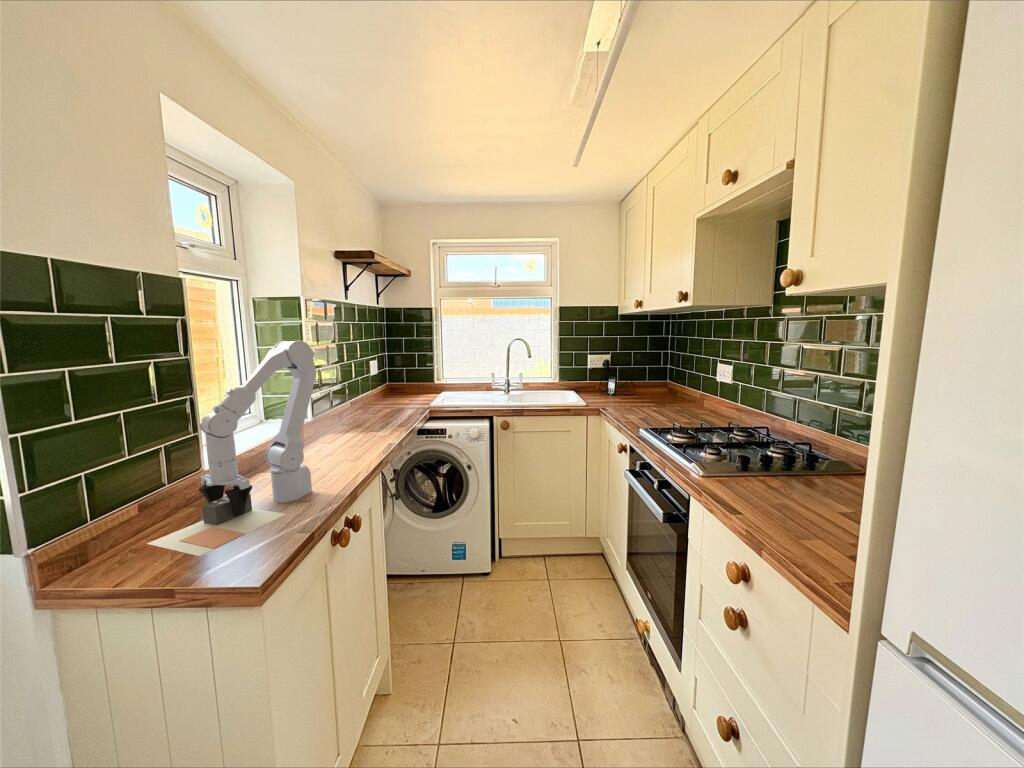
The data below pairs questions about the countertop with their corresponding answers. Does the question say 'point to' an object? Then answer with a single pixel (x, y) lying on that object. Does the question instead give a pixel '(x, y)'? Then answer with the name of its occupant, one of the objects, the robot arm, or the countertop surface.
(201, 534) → the cream mat
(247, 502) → the domino block
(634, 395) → the countertop surface
